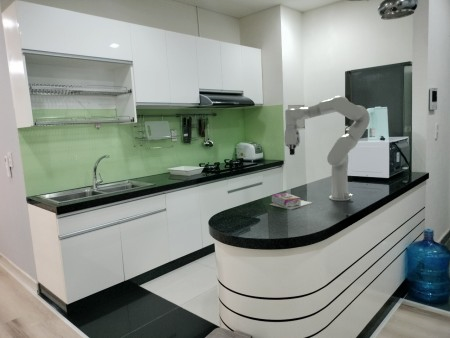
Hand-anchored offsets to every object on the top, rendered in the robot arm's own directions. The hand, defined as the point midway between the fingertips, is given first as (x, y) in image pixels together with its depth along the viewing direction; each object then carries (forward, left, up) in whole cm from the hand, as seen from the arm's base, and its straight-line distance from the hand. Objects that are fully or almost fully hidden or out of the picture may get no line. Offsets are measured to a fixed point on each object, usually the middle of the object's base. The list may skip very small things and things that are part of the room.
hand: (292, 154), depth 230 cm
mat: (-16, +20, -28) cm, 38 cm away
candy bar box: (-6, +21, -25) cm, 33 cm away
